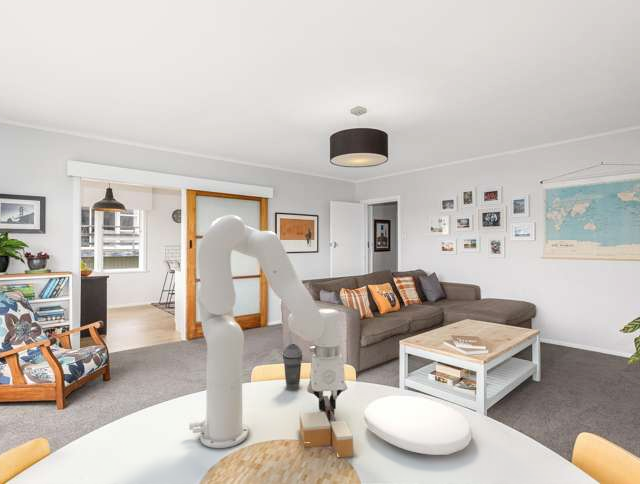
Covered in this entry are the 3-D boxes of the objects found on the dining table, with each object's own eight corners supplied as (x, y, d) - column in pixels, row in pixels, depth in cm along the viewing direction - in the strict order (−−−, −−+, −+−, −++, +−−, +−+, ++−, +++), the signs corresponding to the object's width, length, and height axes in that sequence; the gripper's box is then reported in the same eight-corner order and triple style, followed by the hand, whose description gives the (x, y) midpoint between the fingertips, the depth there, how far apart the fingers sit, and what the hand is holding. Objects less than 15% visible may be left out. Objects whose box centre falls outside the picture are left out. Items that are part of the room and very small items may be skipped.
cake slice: (337, 457, 90) (337, 437, 90) (330, 440, 97) (330, 421, 98) (353, 456, 90) (352, 435, 90) (345, 439, 98) (344, 420, 98)
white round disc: (476, 406, 107) (467, 453, 83) (473, 428, 107) (465, 482, 83) (382, 379, 120) (352, 414, 96) (380, 399, 120) (349, 438, 96)
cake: (304, 447, 94) (303, 427, 94) (299, 431, 102) (299, 413, 102) (330, 444, 95) (330, 425, 96) (324, 429, 103) (324, 411, 103)
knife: (334, 436, 98) (333, 425, 98) (320, 405, 116) (320, 396, 117) (342, 435, 98) (342, 424, 98) (327, 405, 117) (327, 395, 117)
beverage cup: (295, 393, 128) (294, 335, 129) (278, 389, 132) (278, 332, 132) (306, 386, 134) (306, 331, 135) (290, 382, 138) (290, 329, 139)
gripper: (302, 355, 107) (302, 419, 107) (355, 352, 110) (356, 415, 109) (299, 348, 115) (299, 408, 114) (349, 345, 117) (349, 404, 117)
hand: (327, 411), depth 112 cm, fingers closed on knife, 2 cm apart
